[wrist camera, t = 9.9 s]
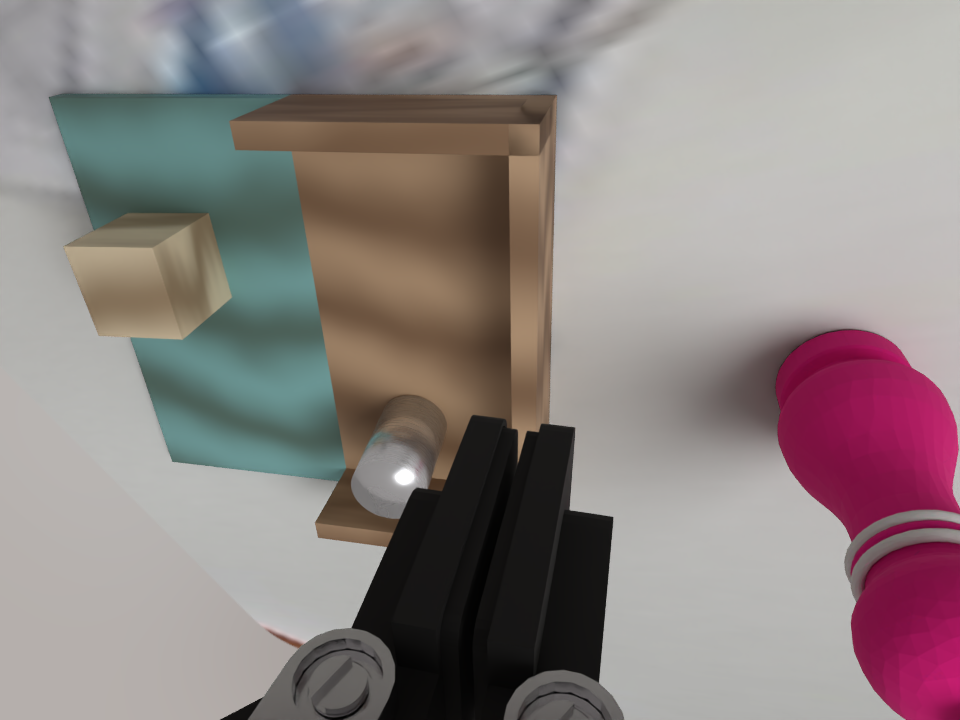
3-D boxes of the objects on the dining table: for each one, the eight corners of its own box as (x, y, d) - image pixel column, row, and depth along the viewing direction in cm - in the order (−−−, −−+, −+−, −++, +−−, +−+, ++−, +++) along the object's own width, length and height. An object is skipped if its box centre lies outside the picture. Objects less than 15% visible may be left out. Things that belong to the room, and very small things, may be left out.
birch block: (127, 213, 38) (63, 246, 34) (208, 213, 37) (152, 247, 32) (155, 295, 40) (98, 335, 36) (232, 297, 39) (182, 339, 35)
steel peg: (371, 402, 41) (338, 469, 36) (431, 389, 40) (406, 455, 35) (397, 454, 43) (370, 523, 38) (456, 442, 41) (436, 512, 36)
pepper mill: (929, 420, 35) (1183, 846, 19) (782, 450, 38) (889, 845, 21) (907, 301, 33) (1184, 679, 16) (750, 342, 35) (844, 702, 19)
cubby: (62, 93, 36) (-32, 118, 31) (556, 95, 31) (539, 124, 26) (180, 452, 48) (126, 511, 43) (547, 494, 43) (534, 566, 38)
